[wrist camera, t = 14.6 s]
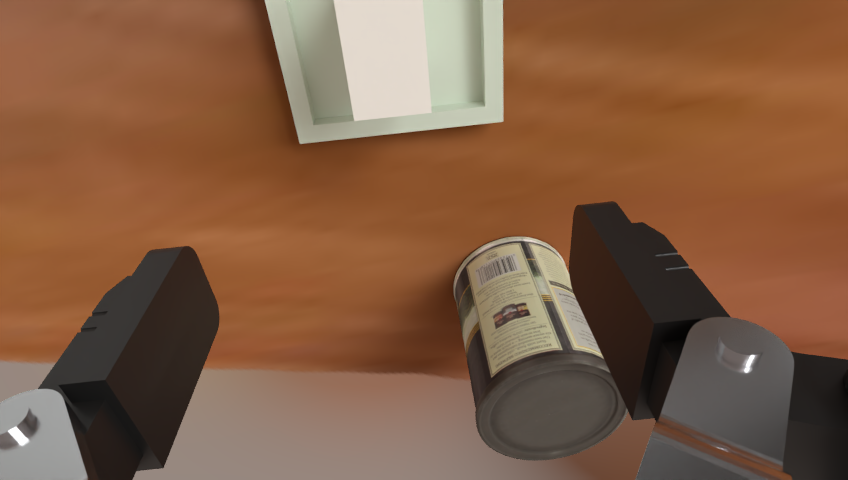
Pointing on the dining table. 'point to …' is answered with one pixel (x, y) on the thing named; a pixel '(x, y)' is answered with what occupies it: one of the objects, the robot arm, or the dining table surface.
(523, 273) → the coffee can
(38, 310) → the dining table surface
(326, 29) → the tray
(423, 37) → the white banded brick
